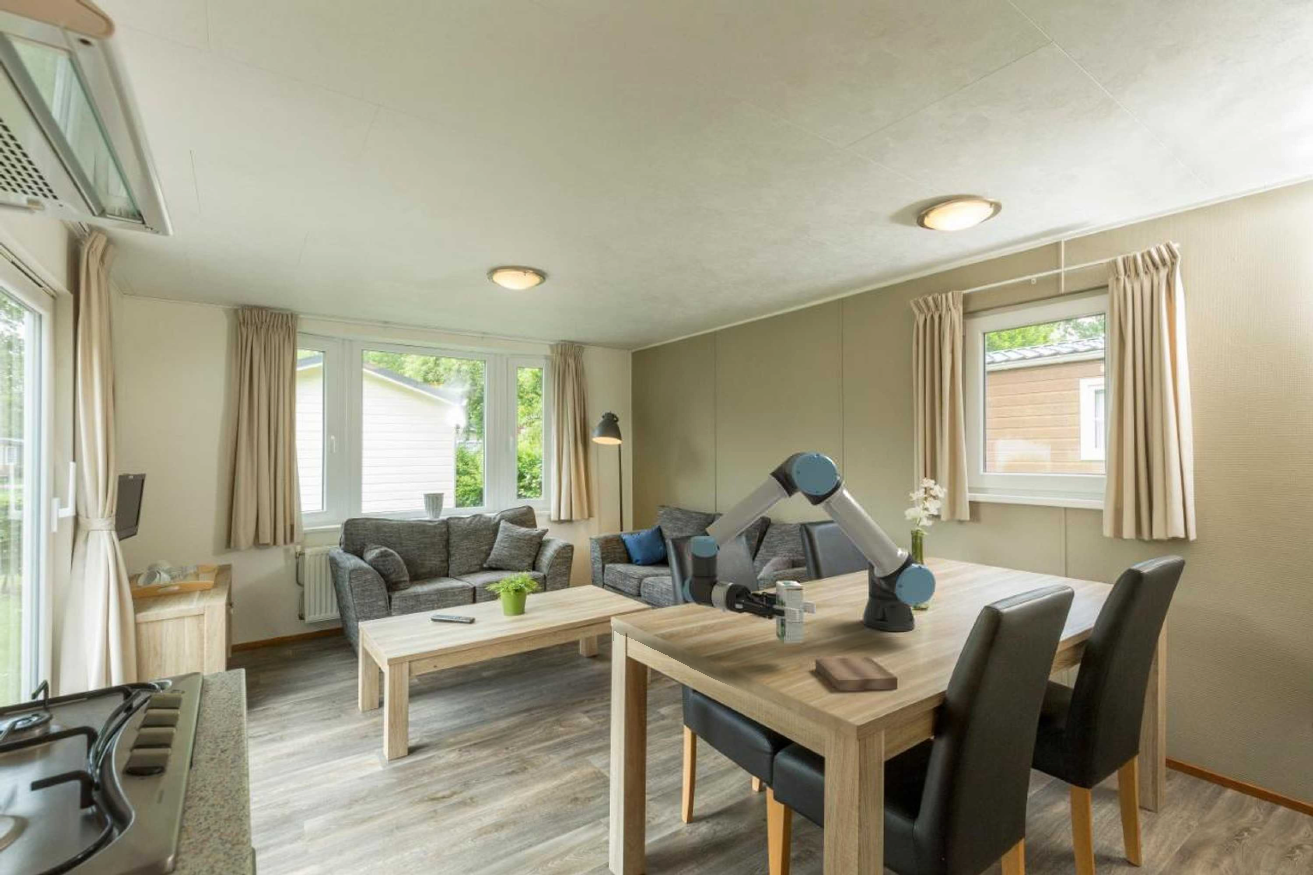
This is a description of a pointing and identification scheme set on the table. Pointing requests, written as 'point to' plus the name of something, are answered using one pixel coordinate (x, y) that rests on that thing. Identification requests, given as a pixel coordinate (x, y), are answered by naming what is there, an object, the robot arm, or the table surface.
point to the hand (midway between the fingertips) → (806, 611)
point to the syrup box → (792, 598)
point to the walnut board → (855, 674)
